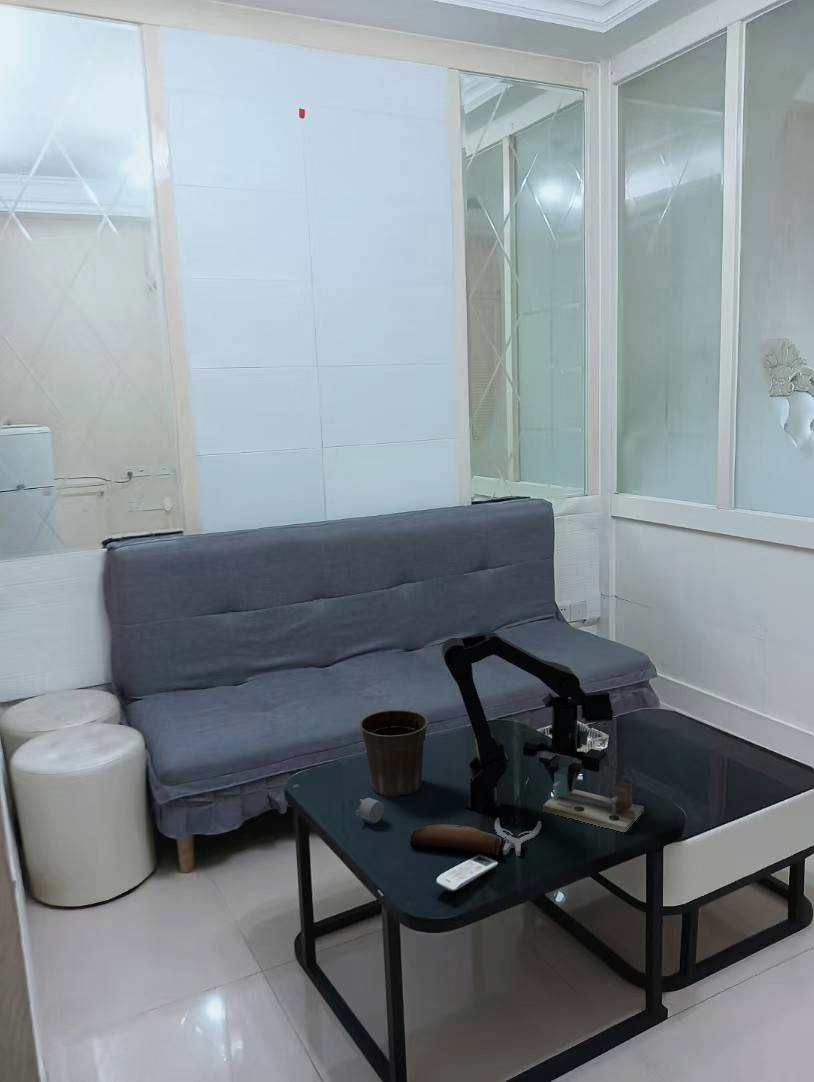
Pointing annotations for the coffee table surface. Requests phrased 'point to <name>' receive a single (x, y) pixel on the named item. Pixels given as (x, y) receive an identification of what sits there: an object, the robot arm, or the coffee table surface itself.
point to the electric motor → (370, 810)
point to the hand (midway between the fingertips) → (564, 789)
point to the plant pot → (394, 750)
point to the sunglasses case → (456, 838)
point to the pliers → (515, 842)
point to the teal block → (561, 783)
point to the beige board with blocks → (598, 807)
